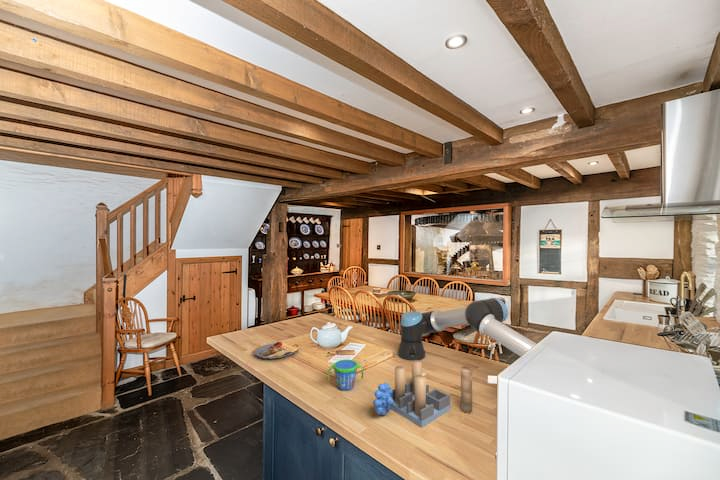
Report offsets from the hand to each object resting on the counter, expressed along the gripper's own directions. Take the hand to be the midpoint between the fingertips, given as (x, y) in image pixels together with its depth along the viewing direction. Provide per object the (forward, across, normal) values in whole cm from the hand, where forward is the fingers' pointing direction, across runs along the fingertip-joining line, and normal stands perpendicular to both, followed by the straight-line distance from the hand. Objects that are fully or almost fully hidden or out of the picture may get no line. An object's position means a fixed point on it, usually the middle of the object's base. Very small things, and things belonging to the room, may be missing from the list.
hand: (493, 387), depth 113 cm
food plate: (+103, +49, -10) cm, 115 cm away
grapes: (+40, -6, -10) cm, 42 cm away
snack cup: (+58, +14, -9) cm, 60 cm away
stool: (+28, 0, -9) cm, 29 cm away
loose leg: (+10, 0, -9) cm, 14 cm away
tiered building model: (+26, +18, -10) cm, 33 cm away
